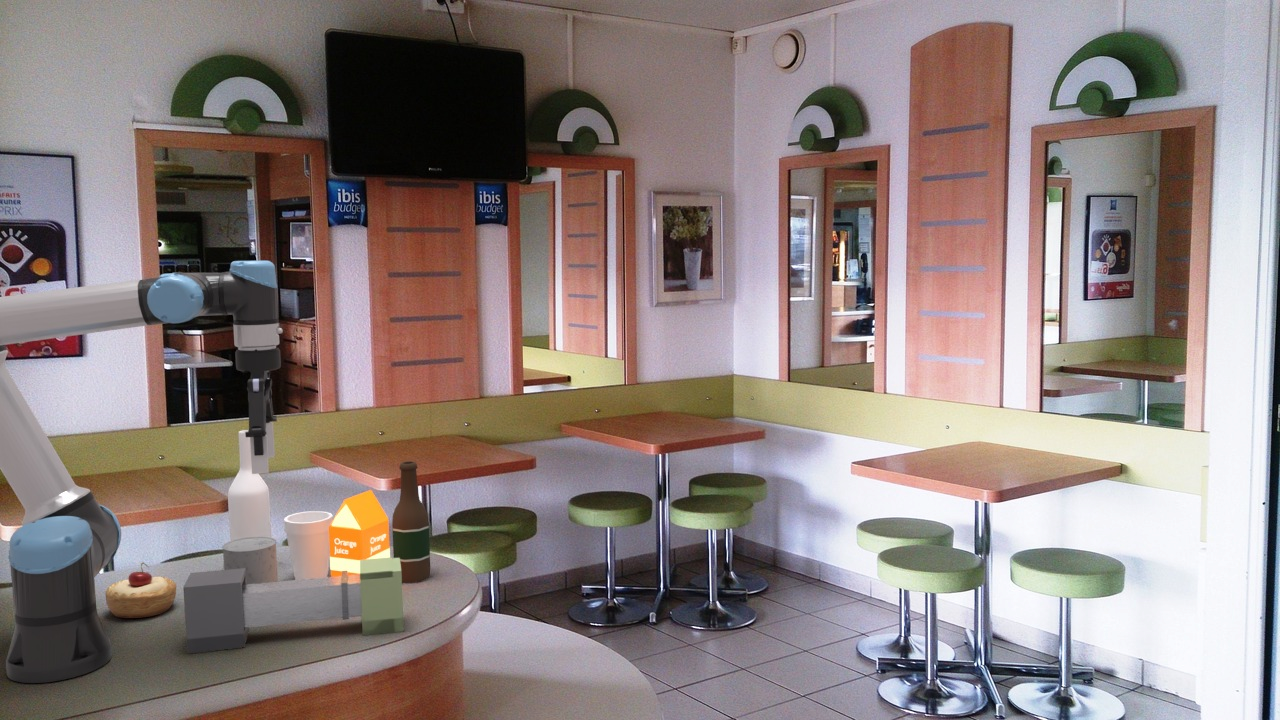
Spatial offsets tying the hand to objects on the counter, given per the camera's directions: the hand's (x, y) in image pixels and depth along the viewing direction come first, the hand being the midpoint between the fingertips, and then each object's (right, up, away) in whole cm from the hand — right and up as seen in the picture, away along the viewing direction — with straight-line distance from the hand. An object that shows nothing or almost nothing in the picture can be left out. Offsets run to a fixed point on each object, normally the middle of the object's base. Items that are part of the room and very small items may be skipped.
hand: (263, 465), depth 188 cm
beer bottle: (+21, -26, +26) cm, 42 cm away
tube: (+10, -26, -4) cm, 28 cm away
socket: (+21, -29, 0) cm, 36 cm away
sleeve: (-5, -30, -7) cm, 31 cm away
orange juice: (+13, -27, +16) cm, 34 cm away
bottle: (-13, -26, +31) cm, 42 cm away
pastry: (-26, -29, +9) cm, 39 cm away
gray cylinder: (-6, -28, +10) cm, 30 cm away
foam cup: (0, -26, +26) cm, 37 cm away
